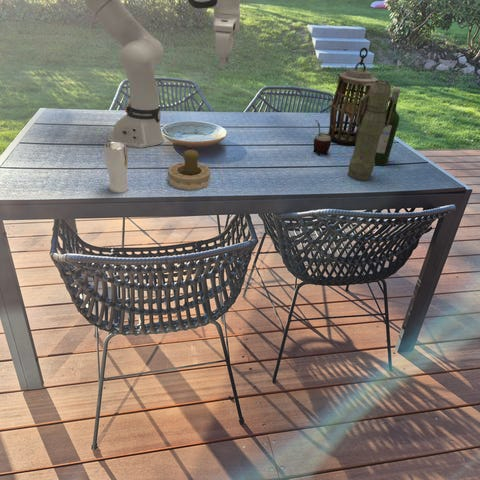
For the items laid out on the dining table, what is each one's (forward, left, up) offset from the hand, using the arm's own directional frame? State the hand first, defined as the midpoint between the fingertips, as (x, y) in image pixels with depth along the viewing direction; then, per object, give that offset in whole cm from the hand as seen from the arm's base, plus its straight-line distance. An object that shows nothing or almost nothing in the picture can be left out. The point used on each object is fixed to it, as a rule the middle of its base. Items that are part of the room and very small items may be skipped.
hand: (224, 65), depth 154 cm
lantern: (+54, +36, -34) cm, 73 cm away
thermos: (+55, -5, -34) cm, 65 cm away
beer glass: (-28, -38, -34) cm, 58 cm away
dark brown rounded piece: (-7, -26, -34) cm, 43 cm away
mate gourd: (+41, +15, -34) cm, 56 cm away
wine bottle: (+65, +12, -34) cm, 74 cm away
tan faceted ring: (-7, -26, -34) cm, 43 cm away
